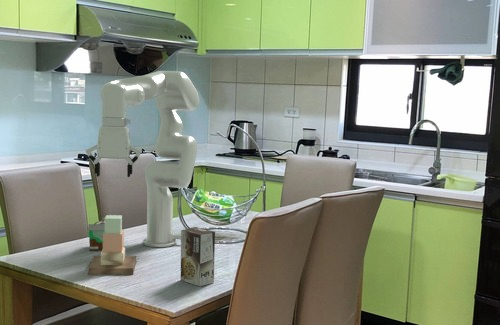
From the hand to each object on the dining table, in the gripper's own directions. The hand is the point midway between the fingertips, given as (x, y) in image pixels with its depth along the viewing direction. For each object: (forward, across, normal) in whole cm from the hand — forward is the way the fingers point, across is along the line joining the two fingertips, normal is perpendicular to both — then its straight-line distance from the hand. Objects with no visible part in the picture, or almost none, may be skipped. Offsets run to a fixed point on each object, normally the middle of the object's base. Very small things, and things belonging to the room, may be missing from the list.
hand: (113, 176), depth 194 cm
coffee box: (+31, -27, +14) cm, 43 cm away
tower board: (+30, 0, 0) cm, 30 cm away
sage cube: (+18, 0, 0) cm, 18 cm away
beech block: (+28, 0, 0) cm, 28 cm away
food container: (+31, +6, -24) cm, 39 cm away
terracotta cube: (+24, 0, 0) cm, 24 cm away
